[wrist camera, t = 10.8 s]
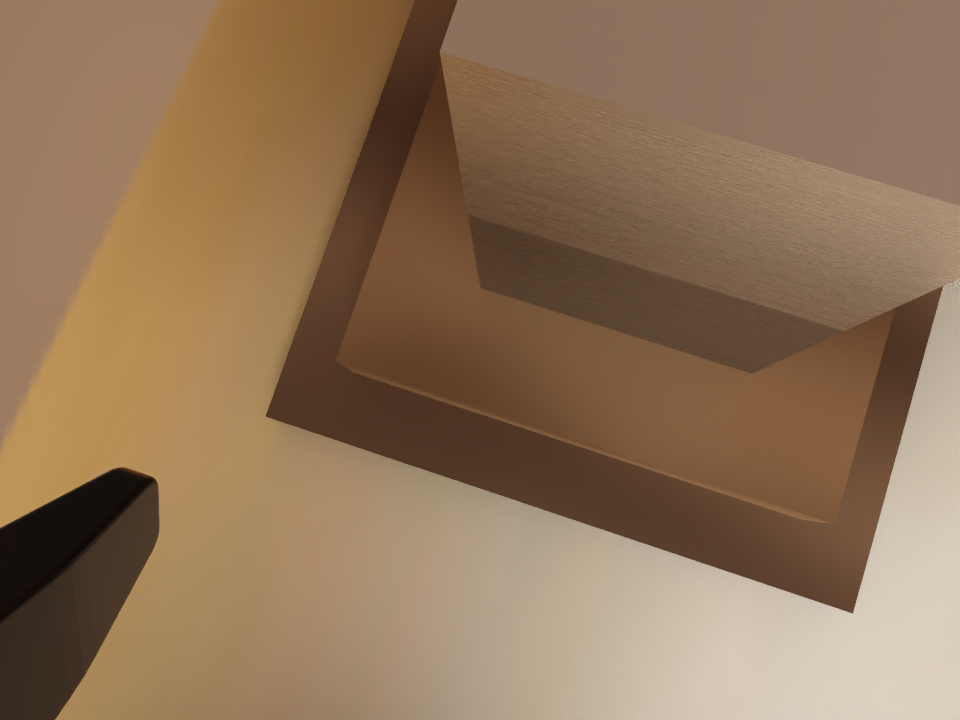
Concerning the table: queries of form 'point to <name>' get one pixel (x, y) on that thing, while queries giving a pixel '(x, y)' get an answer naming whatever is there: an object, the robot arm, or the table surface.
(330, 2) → the table surface
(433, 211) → the walnut stand
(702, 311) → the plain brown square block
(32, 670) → the robot arm
